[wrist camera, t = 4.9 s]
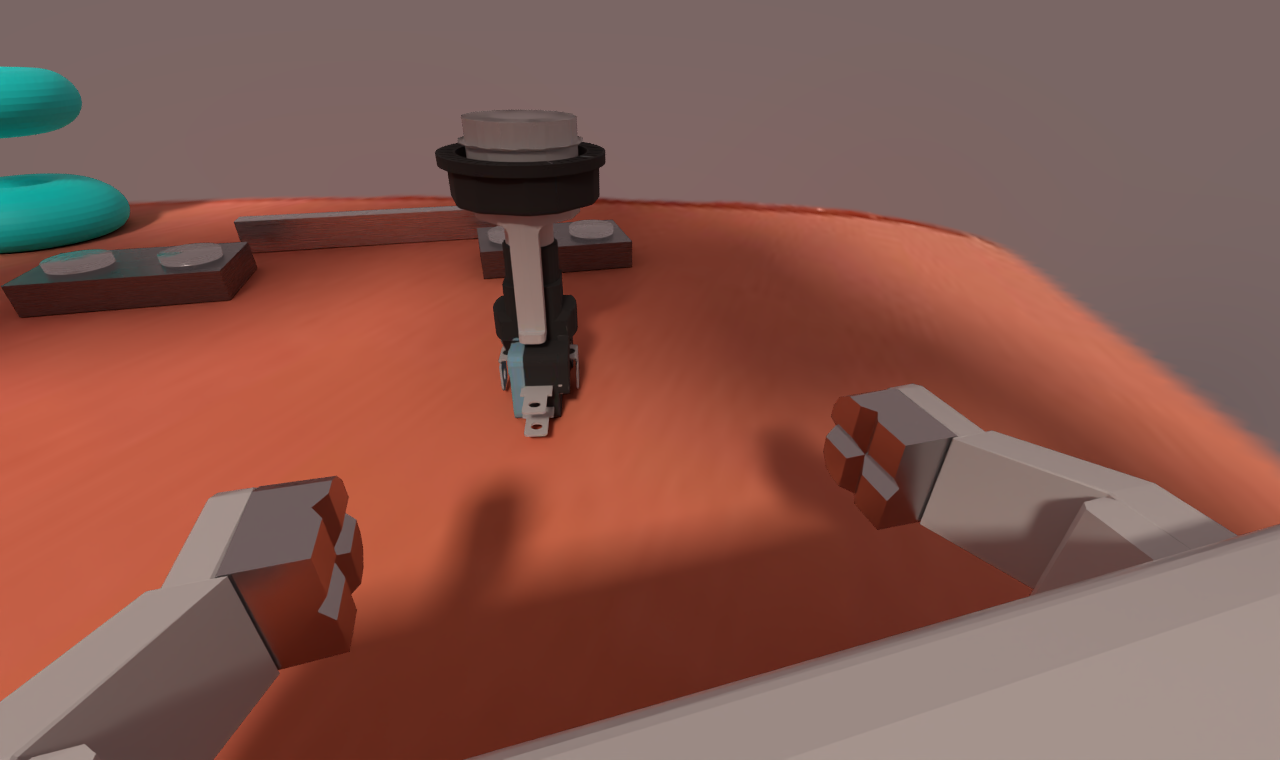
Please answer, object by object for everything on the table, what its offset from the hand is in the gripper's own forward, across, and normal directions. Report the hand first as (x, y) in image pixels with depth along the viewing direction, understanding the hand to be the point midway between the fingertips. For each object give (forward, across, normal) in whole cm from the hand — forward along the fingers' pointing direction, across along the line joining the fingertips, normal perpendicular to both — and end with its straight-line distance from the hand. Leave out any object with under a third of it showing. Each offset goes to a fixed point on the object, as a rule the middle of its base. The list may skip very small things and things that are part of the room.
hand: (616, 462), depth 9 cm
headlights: (+30, -8, -6) cm, 32 cm away
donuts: (+41, -30, -6) cm, 51 cm away
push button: (+12, 0, -6) cm, 13 cm away
